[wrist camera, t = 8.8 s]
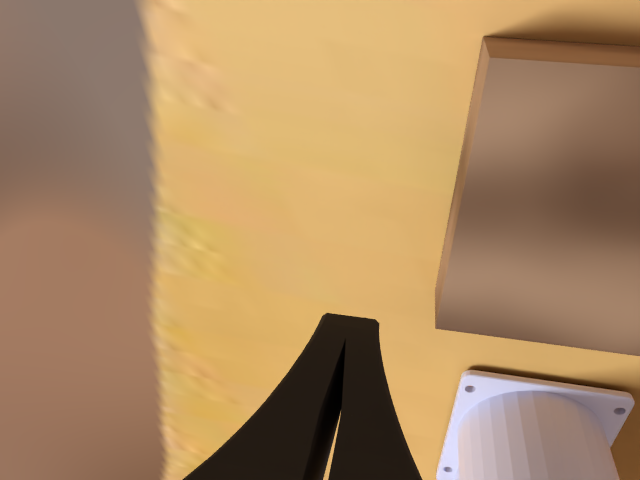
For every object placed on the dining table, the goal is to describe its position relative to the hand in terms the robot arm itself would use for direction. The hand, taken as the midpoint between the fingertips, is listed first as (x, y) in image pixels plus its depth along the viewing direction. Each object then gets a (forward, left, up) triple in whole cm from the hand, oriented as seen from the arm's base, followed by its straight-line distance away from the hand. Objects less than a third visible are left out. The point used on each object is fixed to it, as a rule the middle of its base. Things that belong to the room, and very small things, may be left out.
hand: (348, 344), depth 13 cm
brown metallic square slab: (0, -8, -9) cm, 13 cm away
